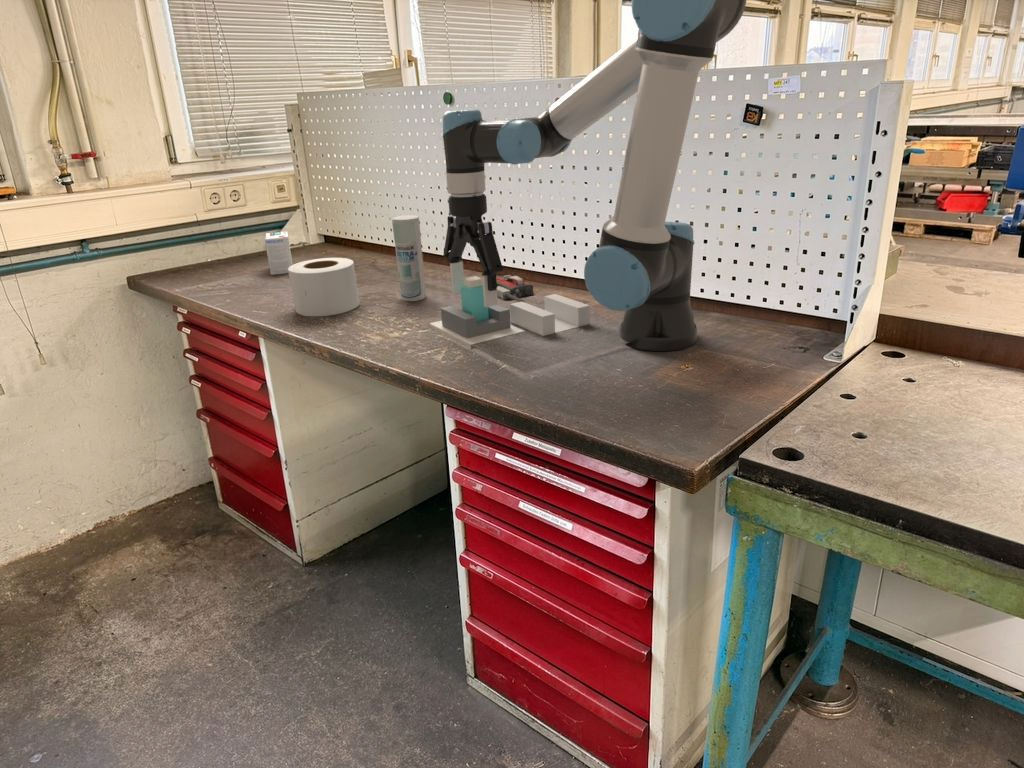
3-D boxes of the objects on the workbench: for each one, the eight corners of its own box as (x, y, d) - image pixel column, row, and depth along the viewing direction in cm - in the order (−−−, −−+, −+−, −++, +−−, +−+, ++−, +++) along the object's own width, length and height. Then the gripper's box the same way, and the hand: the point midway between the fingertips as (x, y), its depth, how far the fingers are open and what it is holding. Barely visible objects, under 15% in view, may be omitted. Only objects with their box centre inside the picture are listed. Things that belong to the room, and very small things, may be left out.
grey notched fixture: (525, 335, 143) (524, 312, 141) (471, 349, 137) (469, 325, 135) (481, 315, 157) (479, 294, 155) (430, 327, 151) (427, 305, 149)
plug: (489, 327, 146) (486, 278, 142) (472, 331, 144) (469, 282, 140) (479, 322, 149) (476, 275, 145) (463, 326, 147) (459, 278, 143)
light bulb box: (271, 267, 214) (264, 232, 210) (293, 265, 216) (287, 230, 212) (270, 275, 205) (264, 238, 201) (294, 272, 207) (287, 236, 203)
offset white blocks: (589, 328, 145) (589, 305, 144) (543, 340, 140) (542, 316, 138) (555, 315, 155) (555, 293, 153) (511, 326, 149) (509, 304, 147)
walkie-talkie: (481, 291, 179) (519, 308, 163) (480, 274, 177) (518, 290, 161) (510, 285, 183) (550, 302, 166) (510, 269, 181) (550, 284, 165)
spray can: (396, 301, 172) (387, 219, 164) (406, 294, 178) (398, 215, 170) (421, 301, 171) (413, 219, 163) (430, 294, 176) (422, 215, 169)
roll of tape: (311, 320, 160) (304, 275, 156) (285, 308, 171) (277, 265, 167) (370, 306, 169) (365, 263, 165) (342, 295, 180) (336, 254, 176)
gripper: (517, 197, 128) (522, 308, 136) (453, 187, 147) (460, 284, 156) (482, 202, 124) (489, 315, 133) (422, 190, 144) (431, 290, 152)
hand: (474, 299), depth 144 cm, fingers open, 13 cm apart
